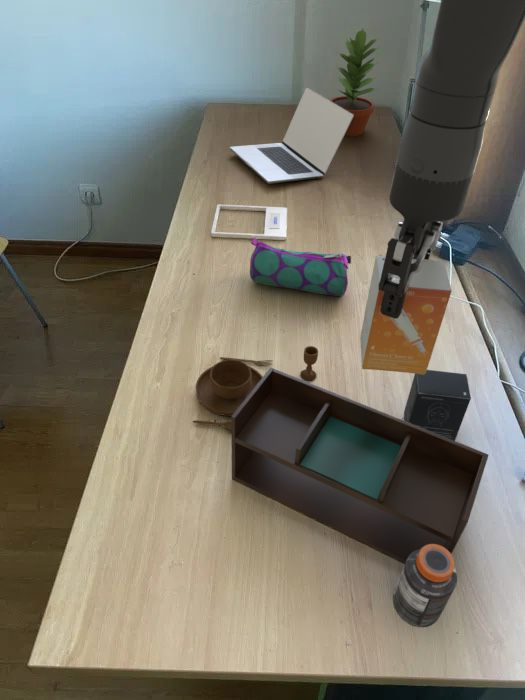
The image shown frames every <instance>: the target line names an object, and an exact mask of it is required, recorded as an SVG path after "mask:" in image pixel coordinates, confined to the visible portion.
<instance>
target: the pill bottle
mask: <svg viewBox="0 0 525 700" xmlns="http://www.w3.org/2000/svg"><path fill="white" fill-rule="evenodd" d="M455 565H456V564H455V558H454V557H453V555H452V554H451V553H450V552H449V551H448V550H447V549H446V548H444V547H442V546H440V545H437V544H428V545H425V546H424V547H422V548H421V549H418V550H415V551H414V552H412V553H411V554H410V555H409V556H408V558H407V560H406V562H405V564H403V567H402V570H401V573H400V575H399V578H398V580H397V582H396V586H395V588H394V590H393V594H392V603H393V608H394V611H395V613H397V616H399V618H400V619H401V620H402V621H404V622H405V623H406V624H408V625H410V626H411V627H415V628H428V627H431V626H433V625H434V624H436V623H437V622H438V620H439V619H440V617H441V615H442V613H443V611H444V610H445V607H446V606H447V604H448V602H449V600H450V598H451V596H452V595H453V593H454V591H455V590H456V587H457V583H458V573H457V570H456V567H455Z"/></svg>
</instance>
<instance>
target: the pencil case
mask: <svg viewBox="0 0 525 700" xmlns="http://www.w3.org/2000/svg"><path fill="white" fill-rule="evenodd" d="M250 243H251V245H252V246H255V247H254V249H253V251H252V253H251V255H250V261H249V277H250V279H251V280H252V281H253V282H255V283H259V284H261V285H267V286H272V287H280V288H285V289H287V288H288V289H293V290H299V291H303V292H308V293H315V294H321V295H326V296H335V297H343V296H345V295H346V292H347V289H348V284H349V280H348V269H349V265H351V264H352V256H351V255H347V254H346V253H323V252H322V253H321V252H320V253H318V252H313V251H295V250H287V249H284V248H279V247H274V246H272V245H270V244H268V243H266V242H263V241H260V240H259V241H258V239H256V238H255V237H254V238H253V239H252V240H251V242H250Z"/></svg>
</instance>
